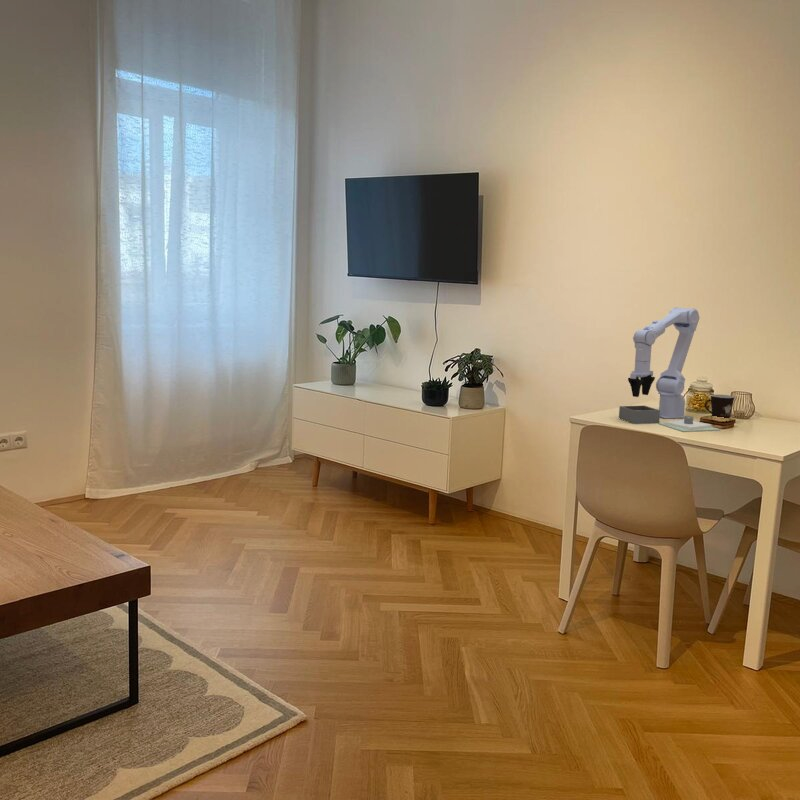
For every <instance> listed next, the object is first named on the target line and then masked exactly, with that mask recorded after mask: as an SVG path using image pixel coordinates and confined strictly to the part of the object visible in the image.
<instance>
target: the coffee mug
mask: <svg viewBox="0 0 800 800" xmlns="http://www.w3.org/2000/svg"><path fill="white" fill-rule="evenodd" d="M734 400H735V396H734V395H730V394H729V395H728V394H711V395H710V399H708V400H706V401H705V403H704V408H705V409H706V410H707V412H709V413H710V414H711V417H712V416H717V417H724V418H730V419H731V415H732V409H733V407H734V406H733V405H734ZM709 402H710V407H711V408H710V409H711V410H710V409H709V408H708V406H707V405H708V403H709Z"/></svg>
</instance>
